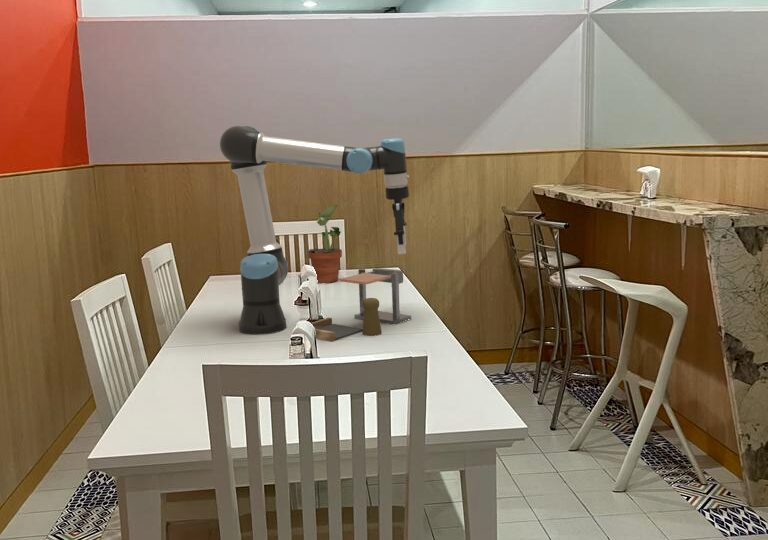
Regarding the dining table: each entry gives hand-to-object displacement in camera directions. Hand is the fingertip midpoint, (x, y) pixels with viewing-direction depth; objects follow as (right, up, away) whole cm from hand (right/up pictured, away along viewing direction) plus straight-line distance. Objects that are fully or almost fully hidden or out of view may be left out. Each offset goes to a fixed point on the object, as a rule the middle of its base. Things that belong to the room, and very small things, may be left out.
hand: (402, 249), depth 249 cm
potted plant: (-31, -12, +70) cm, 78 cm away
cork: (-10, -27, -19) cm, 34 cm away
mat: (-22, -26, -17) cm, 38 cm away
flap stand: (-7, -23, -1) cm, 24 cm away
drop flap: (-10, -12, -7) cm, 17 cm away
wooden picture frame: (-22, -26, -17) cm, 38 cm away
